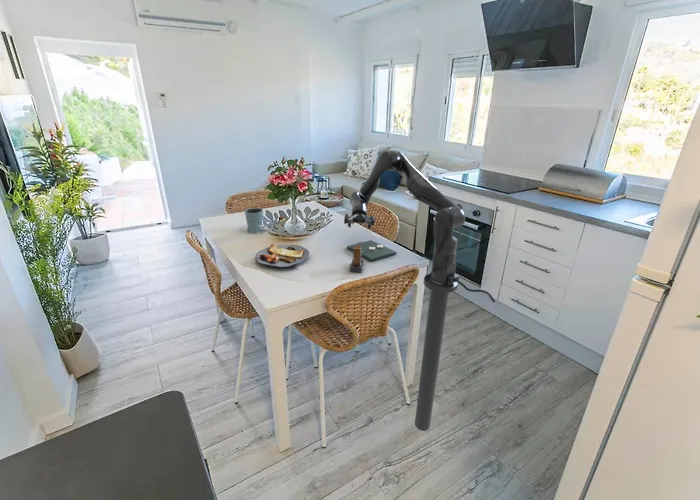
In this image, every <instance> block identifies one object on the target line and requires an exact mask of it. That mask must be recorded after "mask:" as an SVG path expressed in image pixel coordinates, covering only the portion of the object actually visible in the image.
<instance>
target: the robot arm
mask: <svg viewBox="0 0 700 500" xmlns="http://www.w3.org/2000/svg"><path fill="white" fill-rule="evenodd" d="M411 163H412V162H410V161H409V160H408V159H407V157H406V156H405V155H404V154H403V153H402V152H401V151H400V150H396V149H395V150H393V149H392V150H391V149H389V150H384V151H382V152H381V153H380V154H379V155H378V157H377V159H376V162H375V164H374V166H373V167H372V169H371V172H370V173H369V175H368V177H367V178H366V179H365V181H364V182H363V184H361V186H360V188H359V191H357V190H355V191H353V192H352V193H350V195H349V203H350V205H351V207H352V208H351V215H349V214H348V213H345V214H344V215H345V216H344V221H343V224H345V225H346V224H347V227H348V228H350V229H351V227H352V225H354V224H356V223H357V224H363V225H365V226H367V230H370V229H371V228H372V226H373V227H374V226H375V220H376V219H375V216H374V215H371V216H368V209H367V207H368V206H369V204H370V203H369V202H370V200H371V197H372V196H373V194H374V193H375V192H376V191H377V189H378V188H379V185H380V183H381V182H380V181H381V179H380V178H381V176H382V175H383V174H384V173H386V172H387V171H395V172H397V173H398V174H399V175H400V176H402V177H403V180H404V182H405V188H406V190H407V191H408V192H409V193H410V194H411V195H412V197H413V198H414V199H416V200H417V201H419V202H421V203H423V204H425V205H427V206H429V207H431V208H433V209H435V210H436V213H435V216H434V221H433V239H434V245H433V253H432V260H431V270H430V273H429V274H430V275H431V277H430V280H431V281H432V282H433V283H435V284H438V285H443V286H446V285H449V284H452V283H454V282H457V283H458V285H460V286H461V287H463V288H464V290H466V291H468V292H470V293H471V292H473V293H484V294H486V295H487V296H488V297H489V298H490V301H492V303H496V300H495V298H494V297H493V295H492V294H491V293H490V292H489V291H487V290H484V289H473V288H469V287H467V285H465V284H464V283H463V282H462V281H459V280H460V275H458V274H456V270H457V262H456V254H457V248H458V238H457V237H455V236H454V235H453V230H455V229H458V228H460V227H463V225H464V224H465V222H466V215H465V212H464V211H463V209H462V208H461V207H460V206H459V205H457V204H456V203H455V202H453V201H452V200H450V199H449V198H448V197H447V196H446V195H444V194H443V193H442V192H441V191H440V190H439V189H438V188H436V186H435V185H434V184H432V183H431V182H430V181H429V180H428V178H426V177H425V176H424V175H423V174H422V173H421V172H420V171H419V170H418V169H416V167H415V166H413V164H411Z"/></svg>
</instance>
